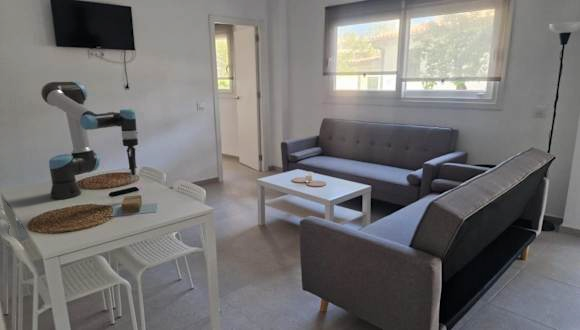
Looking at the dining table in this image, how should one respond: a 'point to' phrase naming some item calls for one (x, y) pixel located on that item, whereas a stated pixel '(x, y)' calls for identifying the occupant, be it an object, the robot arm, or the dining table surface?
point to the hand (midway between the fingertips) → (134, 180)
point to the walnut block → (131, 204)
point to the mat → (144, 209)
